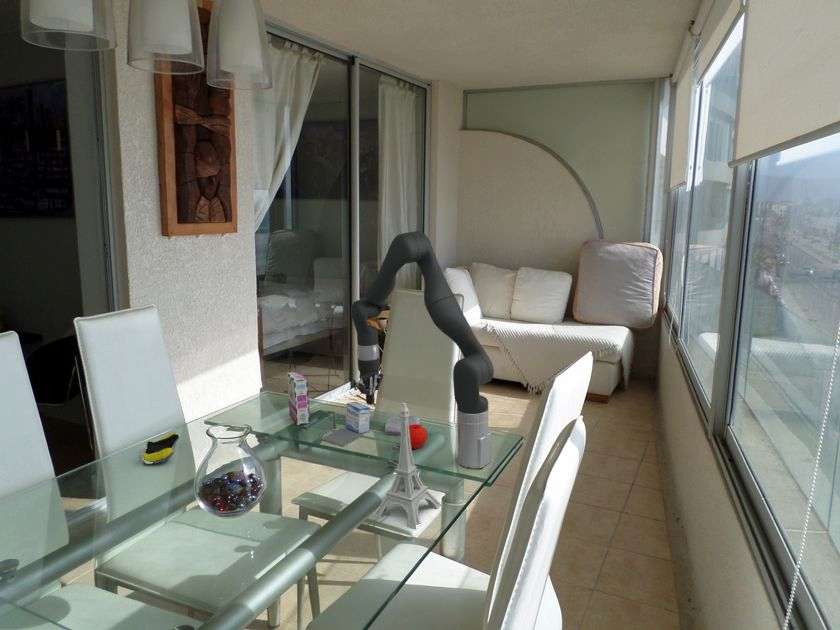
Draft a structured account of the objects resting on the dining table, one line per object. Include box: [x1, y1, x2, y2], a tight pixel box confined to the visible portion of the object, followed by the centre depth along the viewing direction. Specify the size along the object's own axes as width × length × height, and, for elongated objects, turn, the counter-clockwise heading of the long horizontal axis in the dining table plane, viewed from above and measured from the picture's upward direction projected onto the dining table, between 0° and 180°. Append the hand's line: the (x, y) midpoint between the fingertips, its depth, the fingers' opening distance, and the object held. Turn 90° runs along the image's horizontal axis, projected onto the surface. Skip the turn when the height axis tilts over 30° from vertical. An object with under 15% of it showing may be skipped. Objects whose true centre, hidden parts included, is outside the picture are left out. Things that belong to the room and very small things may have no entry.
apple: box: [409, 424, 428, 450], centre depth 208 cm, size 8×8×7 cm
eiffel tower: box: [371, 402, 443, 530], centre depth 168 cm, size 13×13×30 cm
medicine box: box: [345, 401, 371, 434], centre depth 222 cm, size 8×4×9 cm, turn 42°
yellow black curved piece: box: [140, 432, 180, 464], centre depth 205 cm, size 15×6×10 cm
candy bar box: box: [286, 370, 311, 426], centre depth 231 cm, size 11×5×16 cm, turn 25°
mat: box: [320, 427, 364, 447], centre depth 217 cm, size 10×10×1 cm
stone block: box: [384, 415, 421, 437], centre depth 221 cm, size 12×5×10 cm
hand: (370, 403), depth 227 cm, fingers closed
